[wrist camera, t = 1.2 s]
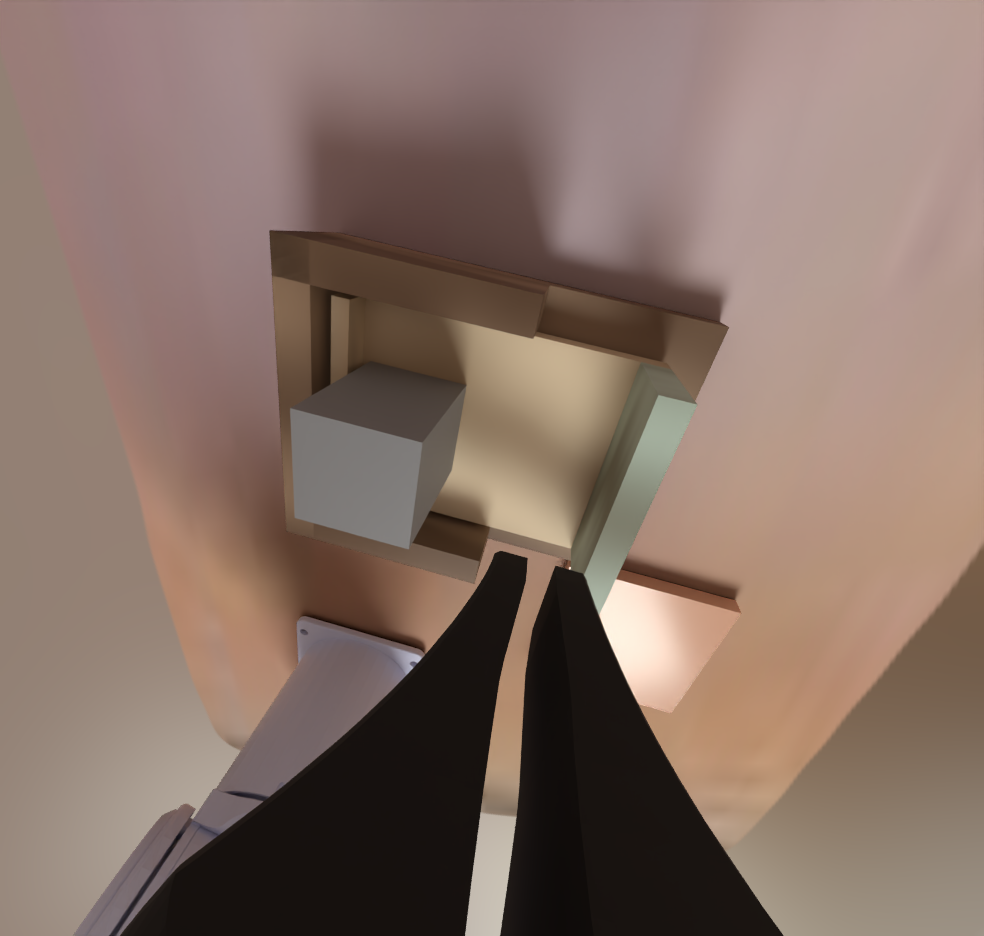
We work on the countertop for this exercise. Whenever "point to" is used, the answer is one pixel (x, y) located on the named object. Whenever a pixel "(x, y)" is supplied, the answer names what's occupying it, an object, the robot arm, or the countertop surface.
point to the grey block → (375, 451)
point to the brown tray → (463, 297)
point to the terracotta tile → (663, 634)
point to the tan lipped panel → (535, 427)
